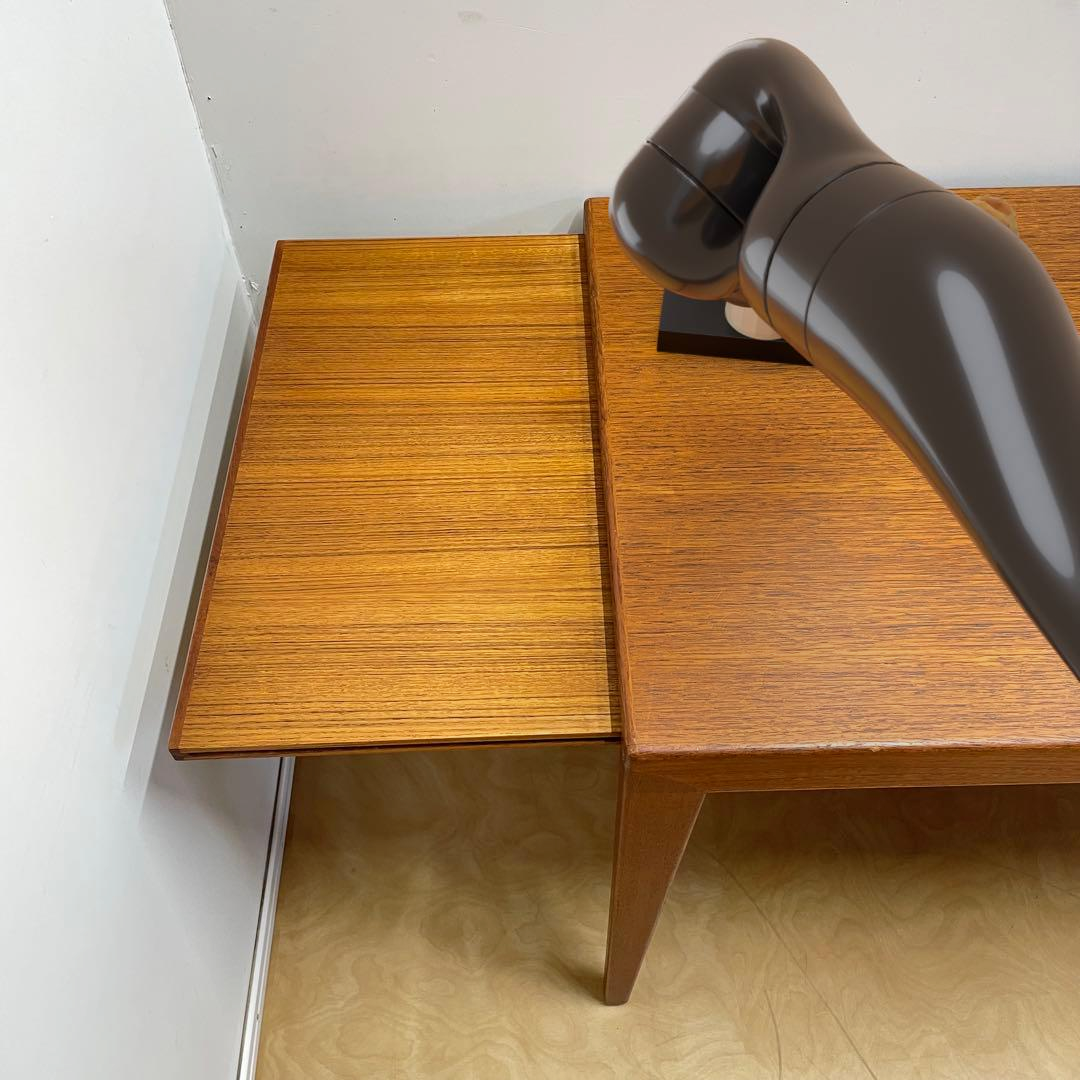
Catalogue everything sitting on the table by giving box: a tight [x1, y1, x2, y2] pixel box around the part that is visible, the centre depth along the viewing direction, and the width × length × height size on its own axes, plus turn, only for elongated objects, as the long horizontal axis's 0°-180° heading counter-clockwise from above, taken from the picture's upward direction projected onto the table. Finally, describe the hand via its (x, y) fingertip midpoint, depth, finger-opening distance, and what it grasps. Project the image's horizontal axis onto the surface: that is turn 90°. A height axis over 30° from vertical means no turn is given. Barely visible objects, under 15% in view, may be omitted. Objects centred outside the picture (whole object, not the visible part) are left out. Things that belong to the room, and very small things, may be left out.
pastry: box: [968, 194, 1020, 238], centre depth 94 cm, size 9×7×4 cm
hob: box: [656, 288, 815, 367], centre depth 90 cm, size 18×14×3 cm
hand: (766, 270), depth 73 cm, fingers open, 8 cm apart
